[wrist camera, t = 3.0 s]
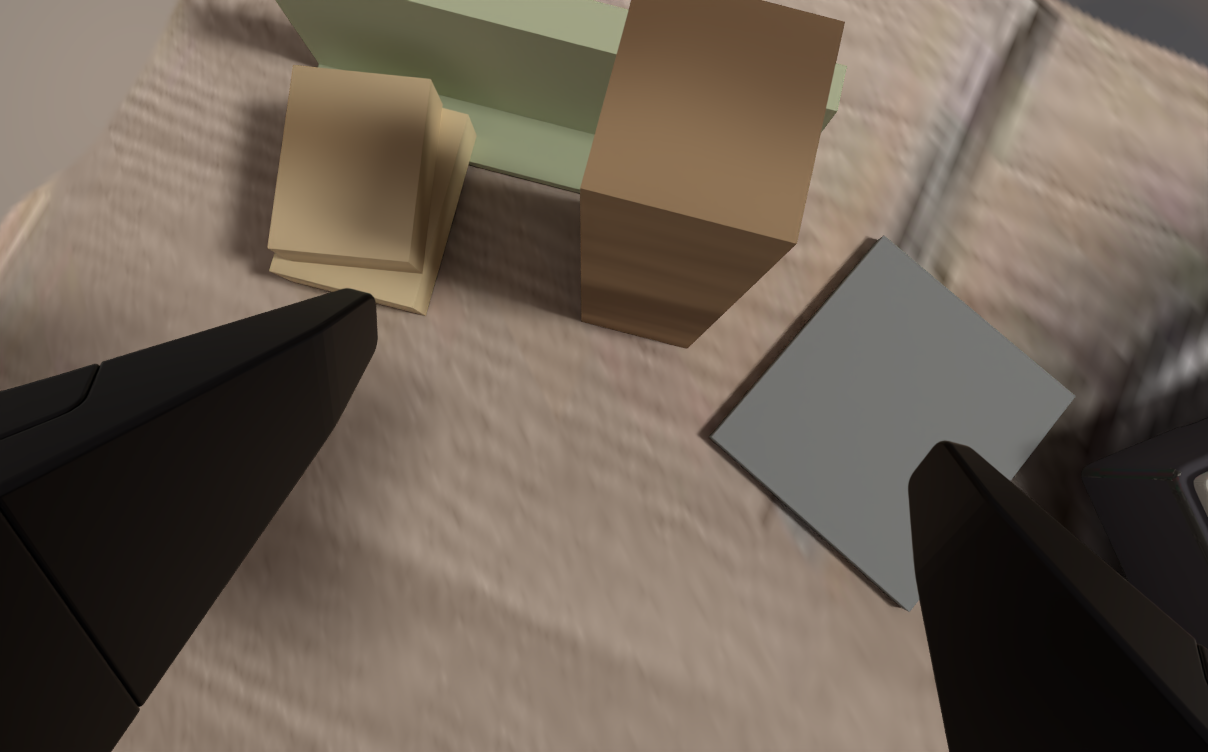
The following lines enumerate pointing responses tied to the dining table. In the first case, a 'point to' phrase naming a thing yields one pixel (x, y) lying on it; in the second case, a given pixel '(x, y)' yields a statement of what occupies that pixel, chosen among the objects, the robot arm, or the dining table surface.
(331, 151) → the offcut upper
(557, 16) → the green flanged rail
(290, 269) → the offcut lower
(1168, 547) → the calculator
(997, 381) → the felt pad
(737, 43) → the brown wooden block
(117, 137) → the dining table surface
